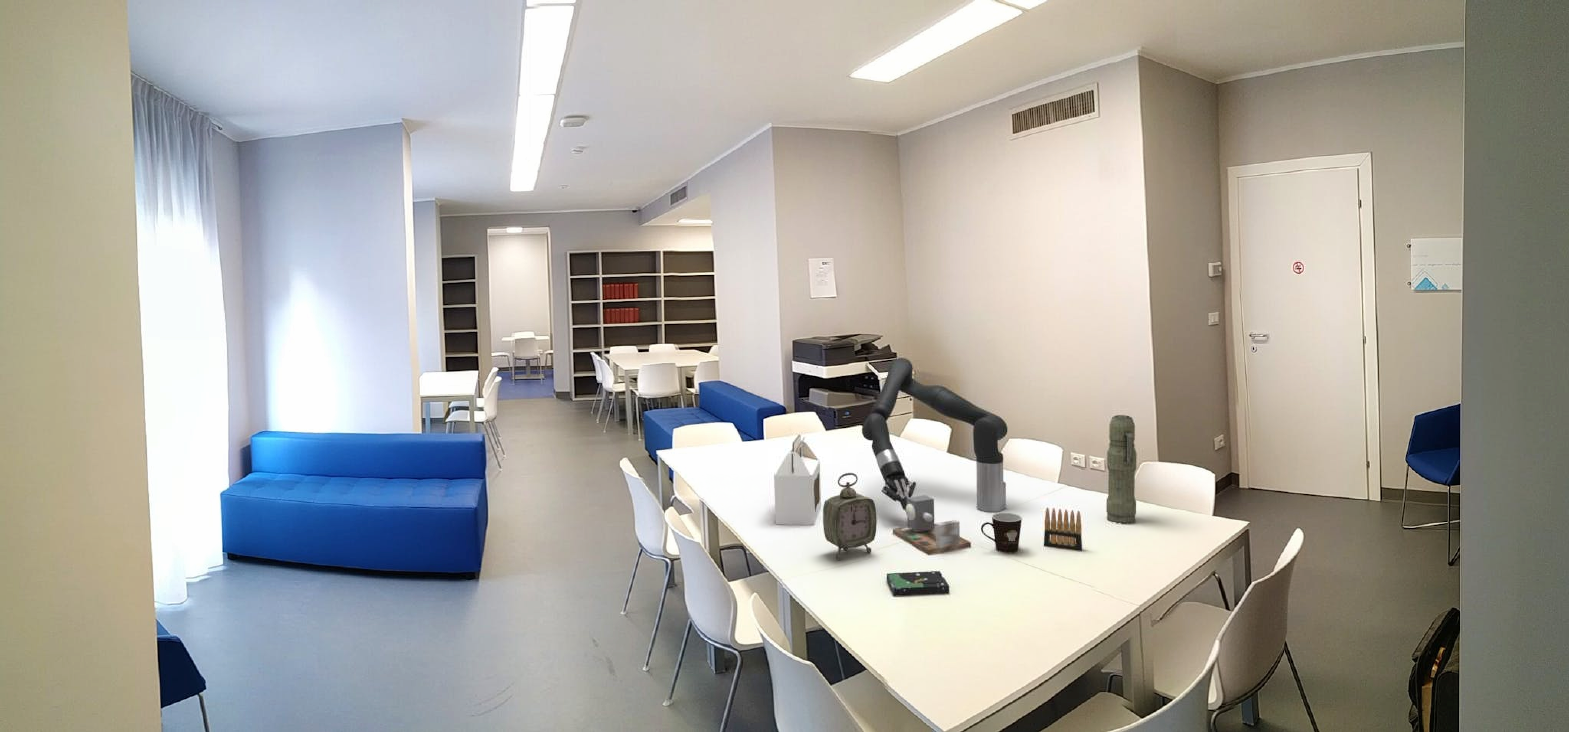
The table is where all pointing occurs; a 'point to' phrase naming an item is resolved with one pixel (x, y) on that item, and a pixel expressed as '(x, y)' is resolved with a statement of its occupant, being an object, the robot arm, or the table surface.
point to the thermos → (1121, 470)
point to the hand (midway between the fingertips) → (908, 509)
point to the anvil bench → (935, 538)
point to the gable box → (798, 487)
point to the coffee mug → (1005, 531)
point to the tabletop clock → (849, 519)
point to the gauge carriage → (920, 513)
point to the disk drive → (917, 583)
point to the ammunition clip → (1063, 531)
